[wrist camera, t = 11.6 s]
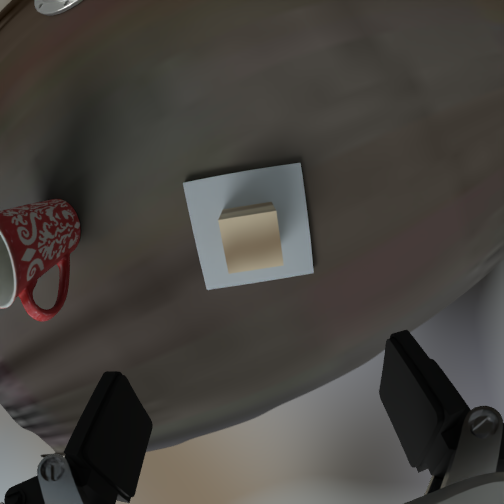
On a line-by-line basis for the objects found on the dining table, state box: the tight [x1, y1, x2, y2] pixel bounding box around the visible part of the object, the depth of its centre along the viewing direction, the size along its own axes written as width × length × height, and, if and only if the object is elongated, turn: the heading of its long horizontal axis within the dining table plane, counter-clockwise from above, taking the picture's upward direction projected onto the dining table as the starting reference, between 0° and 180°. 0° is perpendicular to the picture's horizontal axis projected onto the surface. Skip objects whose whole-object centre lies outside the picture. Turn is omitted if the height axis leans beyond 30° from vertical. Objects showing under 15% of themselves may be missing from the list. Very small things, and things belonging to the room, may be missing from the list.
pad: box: [183, 163, 314, 290], centre depth 31 cm, size 12×12×1 cm
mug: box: [0, 199, 81, 321], centre depth 25 cm, size 13×9×14 cm
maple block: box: [218, 202, 284, 274], centre depth 28 cm, size 5×5×5 cm
